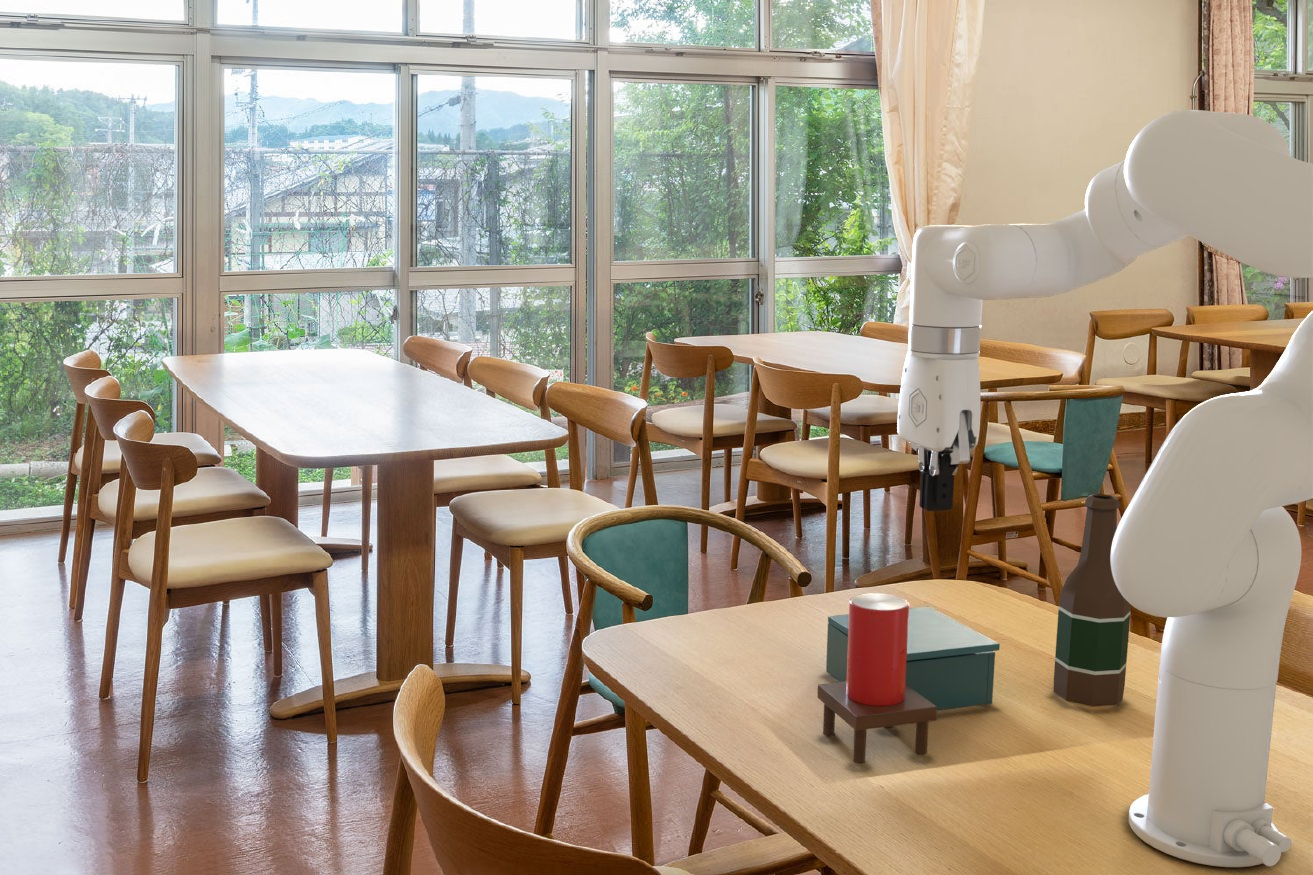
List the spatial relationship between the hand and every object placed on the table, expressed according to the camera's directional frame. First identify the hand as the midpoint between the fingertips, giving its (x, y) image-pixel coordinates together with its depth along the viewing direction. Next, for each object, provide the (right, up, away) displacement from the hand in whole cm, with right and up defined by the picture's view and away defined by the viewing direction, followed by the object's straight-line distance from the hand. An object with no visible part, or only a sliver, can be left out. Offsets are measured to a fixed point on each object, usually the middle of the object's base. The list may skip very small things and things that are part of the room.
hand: (935, 508), depth 139 cm
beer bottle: (+19, -23, +7) cm, 30 cm away
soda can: (-8, -19, -8) cm, 22 cm away
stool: (-8, -25, -7) cm, 27 cm away
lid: (-1, -15, +7) cm, 17 cm away
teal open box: (-2, -22, +8) cm, 24 cm away
